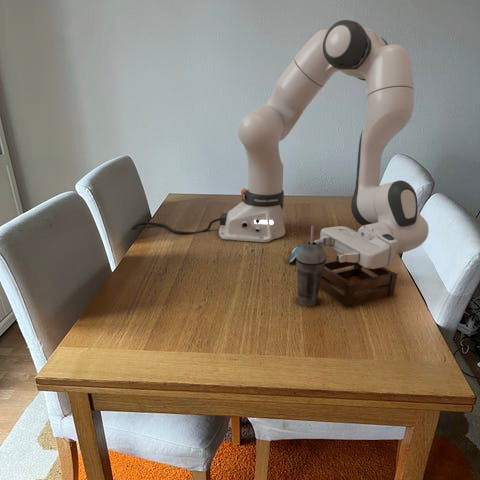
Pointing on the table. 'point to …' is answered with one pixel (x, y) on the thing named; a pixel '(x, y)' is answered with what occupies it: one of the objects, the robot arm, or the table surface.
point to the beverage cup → (309, 271)
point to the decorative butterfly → (294, 253)
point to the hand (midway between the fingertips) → (326, 251)
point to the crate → (356, 283)
